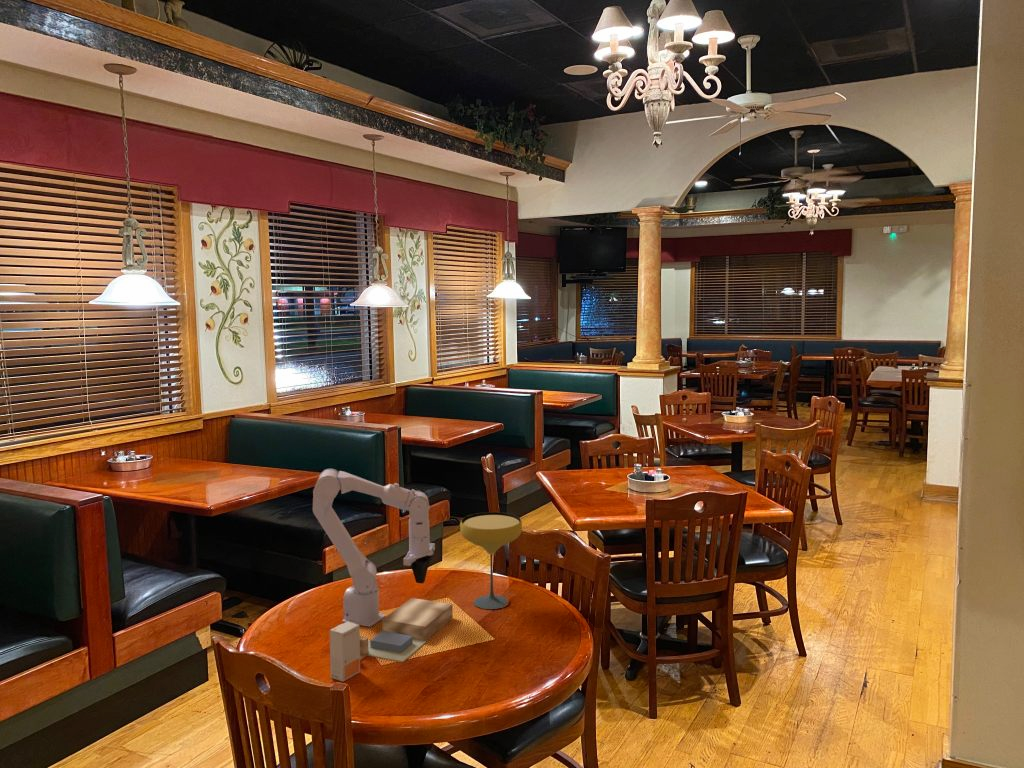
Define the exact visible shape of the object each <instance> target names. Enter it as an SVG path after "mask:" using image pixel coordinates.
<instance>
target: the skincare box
mask: <svg viewBox="0 0 1024 768" xmlns="http://www.w3.org/2000/svg"><path fill="white" fill-rule="evenodd" d="M360 632H361V631H360V625H358V624H354V623H351V622H348V621H347V622H342V623H341V624H338V625H337V626H335V627H332V628H331V629H329V659H330V660H329V661H330V662H329V663H330V678H331V679H334V680H336V681H339V682H342V683H343V682H345V681H347V680H349V679H351V678H352V677H355V676H356V675H357V674H359V673H361V660H360Z"/></svg>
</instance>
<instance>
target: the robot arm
mask: <svg viewBox="0 0 1024 768" xmlns="http://www.w3.org/2000/svg"><path fill="white" fill-rule="evenodd" d="M351 491H354V492H358V493H362V494H366V495H369V496H373V497H375V498H380V499H381V502H382V503H383V504H384V505H386V506H391V507H393V508H397V509H400V510H403V511H408V512H409V519H408V545H409V547H408V549H409V550H408V552H407V554H406V555H405V556H404V557H403V566H407V567H410V568H411V571H412V573H413V577H414V581H415V583H417V584H424V583H425V581H426V578H427V572H428V569H429V566H430V563H431V562H432V560H433V559H432V557H433V555H434V551H435V550H436V543H434V542H433V543H431V542H430V539H431V537H430V518H429V515H430V513H429V511H430V509H431V506H430V502H429V501H430V500H429V497H428V496H427V495H426V494H425V493H424V492H422V491H421V490H415V489H413V488H412V489H411V490H410V489H408V488H404V487H402V486H400V484H399V483H396V482H394V483H393V484H392V483H389V484H386V485H381V484H378V483H377V482H373V481H371V480H369V479H368V480H367V479H365V478H362V477H360V476H358V475H356V474H355V475H354V474H351V473H349V472H346V471H342V470H339V471H338V470H337V469H334V468H327V469H324V470H323V471H322V472H320V474H319V475H318V478H317V481H316V483H315V486H314V488H313V490H312V494H313V495H312V496H313V497H312V513H313V515H314V516H315V518H316V519H317V521H318V523H319V525H320V526H321V528H322V529H323V530H324V531H325V533H326V535H327V537H328V538H329V539H330V541H331V543H332V545H334V547H335V549H336V550H337V552H338V554H339V556H340V557H341V558H342V560H343V562H344V563H345V564H346V567H347V570H348V574H349V575H350V577H351V579H352V586H349V587H347V588H346V590H345V592H344V593H343V594H344V595H343V599H342V603H343V605H342V606H343V619H342V620H341V622H342V623H345V622H347V621H348V622H351V623H354V624H358V625H359V626H364V627H369V628H370V627H372V626H374V625H375V624H377V623H378V622H380V621H381V620H382V619H383V618H385V617H386V614H384V613H380V595H379V594H380V593H379V592H380V591H379V590H380V589H379V585H378V584H377V575H378V571H377V566H376V565H375V564H374V563H373V562H372V561H371V560H369V559H368V558H367V557H366V555H364V554H363V553H362V552H361V550H360V549H359V547H358V546H357V544H356V543H355V541H354V540H353V538H352V536H351V535H350V533H349V532H348V530H347V528H346V527H345V526H344V524H343V523H342V521H341V520H340V517H339V516H338V515H337V513H336V511H335V510H334V508H333V502H334V499H335V498H336V497H337V495H338V494H339V492H341V495H342V494H343V495H344V494H346V493H349V492H351Z"/></svg>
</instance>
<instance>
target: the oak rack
mask: <svg viewBox="0 0 1024 768" xmlns="http://www.w3.org/2000/svg"><path fill="white" fill-rule="evenodd" d="M368 642H369V637H366V636H360V661H361V660H363V659H364V658H365V657H366V656H367V654H368V653H369V651H368Z"/></svg>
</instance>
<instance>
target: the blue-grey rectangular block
mask: <svg viewBox="0 0 1024 768" xmlns="http://www.w3.org/2000/svg"><path fill="white" fill-rule="evenodd" d="M369 641H370V648H375V649H380V650H385V651H391V652H396V653H402V652H403V651H405V650H406V649H407V648H408V647H409V646H410V645H412V644H413V636H409V635H403V634H397V633H392V632H386V631H383V630H382V631H380V632H379V633H378V634H376V635H375V636H374V637H372V639H371V638H370V640H369Z"/></svg>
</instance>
